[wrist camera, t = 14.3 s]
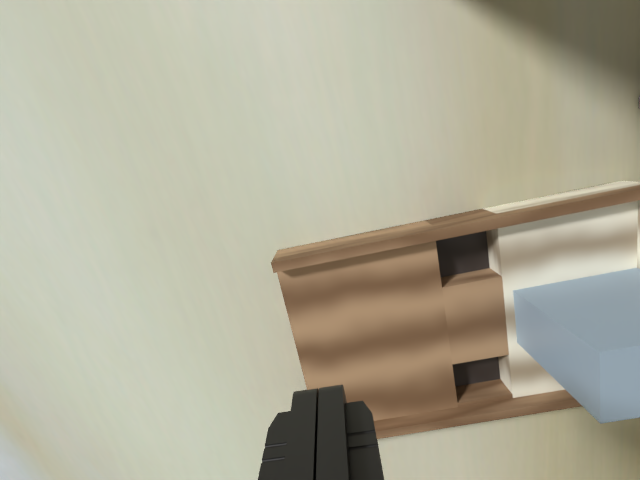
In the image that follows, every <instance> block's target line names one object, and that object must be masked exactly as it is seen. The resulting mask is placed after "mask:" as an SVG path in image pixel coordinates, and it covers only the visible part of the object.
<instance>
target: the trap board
mask: <svg viewBox="0 0 640 480" xmlns="http://www.w3.org/2000/svg"><path fill="white" fill-rule="evenodd" d="M271 265H272V268H273V272H274V273H275V272H277V274H278V278H279V282H280V286H281V290H282V293H283V297H284V301H285V305H286V309H287V313H288V317H289V321H290V325H291V328H292V332H293V336H294V340H295V344H296V348H297V352H298V356H299V360H300V363H301V367H302V371H303V375H304V379H305V383H306V387H307V390H309V389H316V388H318V389H319V388H322V387H329V386H335V385H342V384H343V386H344V391H345V396H346V401H347V403H349V402H356V401H363V402H364V403H365V404H366V406H367V407H368V408H369V410H370V411H371V412H372V415H373V420H374V426H375V431H376V437H377V439H380V438H386V437H393V436H399V435H405V434H411V433H417V432H424V431H430V430H436V429H442V428H449V427H455V426H461V425H467V424H473V423H480V422H486V421H492V420H498V419H505V418H511V417H517V416H523V415H529V414H536V413H542V412H548V411H554V410H561V409H567V408H573V407H579V406H582V405H581V404H580V403H579V402H578V401H577V400H576V399H575V398H574V397H573V396H572V395H571V394H570V393H568V392H567V391H566V390H565V389H564V388H563V387H562V386H561V385H560V384H559V383H558V382H557V381H556V380H555V379H554V378H553V377H552V376H551V375H550V374H549V373H548V372H547V371H546V370H545V369H544V368H543V367H542V366H541V365H540V364H539V363H538V362H537V361H536V360H535V359H534V358H533V357H531V356H530V355H529V354H528V353H527V352H526V351H525V350H524V349H523V348H522V347H521V346H520V345H519V344H518V343H517V334H516V322H515V309H514V296H513V290H518V289H524V288H529V287H535V286H540V285H545V284H551V283H556V282H562V281H567V280H573V279H578V278H583V277H589V276H594V275H600V274H605V273H611V272H616V271H621V270H627V269H632V268H639V269H640V182H632V181H617V182H613V183H608V184H603V185H598V186H593V187H588V188H583V189H578V190H573V191H568V192H563V193H558V194H553V195H548V196H543V197H538V198H533V199H529V200H524V201H519V202H514V203H509V204H504V205H499V206H494V207H489V208H484V209H479V210H474V211H469V212H464V213H459V214H454V215H450V216H445V217H440V218H435V219H430V220H425V221H420V222H415V223H410V224H405V225H400V226H395V227H390V228H385V229H380V230H375V231H371V232H366V233H361V234H356V235H351V236H346V237H341V238H336V239H331V240H326V241H321V242H316V243H311V244H306V245H301V246H296V247H292V248H287V249H282V250H278V251H277V253H276V255H275V257H274V259H273V260H272V262H271Z"/></svg>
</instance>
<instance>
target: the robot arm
mask: <svg viewBox="0 0 640 480" xmlns="http://www.w3.org/2000/svg"><path fill="white" fill-rule="evenodd" d="M258 480H384V476H383V470H382V465H381V459H380V453H379V448H378V442H377V437H376V431H375V426H374V420H373V415H372V412H371V411H370V410H369V408H368V407H367V406H366V404H365V403H364V402H363V401H356V402H349V403H347V401H346V396H345V391H344V386H343V384H342V385H335V386H329V387H322V388H319V389H318V388H316V389H309V390H303V391H296V392H294V393H293V399H292V406H291V411H288V412H282V413H278V414H277V416H276V417H275V419H274V420H273V422H272V424H271V425H270V427H269V428H268V433H267V438H266V443H265V449H264V453H263V458H262V463H261V467H260V472H259V477H258Z"/></svg>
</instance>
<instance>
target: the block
mask: <svg viewBox="0 0 640 480" xmlns="http://www.w3.org/2000/svg"><path fill="white" fill-rule="evenodd" d="M513 296H514V309H515V322H516V334H517V343H518V344H519V345H520V346H521V347H522V348H523V349H524V350H525V351H526V352H527V353H528V354H529V355H530V356H531V357H533V358H534V359H535V360H536V361H537V362H538V363H539V364H540V365H541V366H542V367H543V368H544V369H545V370H546V371H547V372H548V373H549V374H550V375H551V376H552V377H553V378H554V379H555V380H556V381H557V382H558V383H559V384H560V385H561V386H562V387H563V388H564V389H565V390H566V391H567V392H568V393H570V394H571V395H572V396H573V397H574V398H575V399H576V400H577V401H578V402H579V403H580V404H581V405H582V406H583V407H584V408H585V409H586V410H587V411H588V412H589V413H590V414H591V415H592V416H593V417H594V418H595V419H596V420H597V421H598V422H599V423H600V424H601V423H607V422H613V421H620V420H626V419H633V418H639V417H640V269H639V268H632V269H627V270H621V271H616V272H611V273H605V274H600V275H594V276H589V277H583V278H578V279H573V280H567V281H562V282H556V283H551V284H545V285H540V286H535V287H529V288H524V289H518V290H513Z"/></svg>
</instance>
